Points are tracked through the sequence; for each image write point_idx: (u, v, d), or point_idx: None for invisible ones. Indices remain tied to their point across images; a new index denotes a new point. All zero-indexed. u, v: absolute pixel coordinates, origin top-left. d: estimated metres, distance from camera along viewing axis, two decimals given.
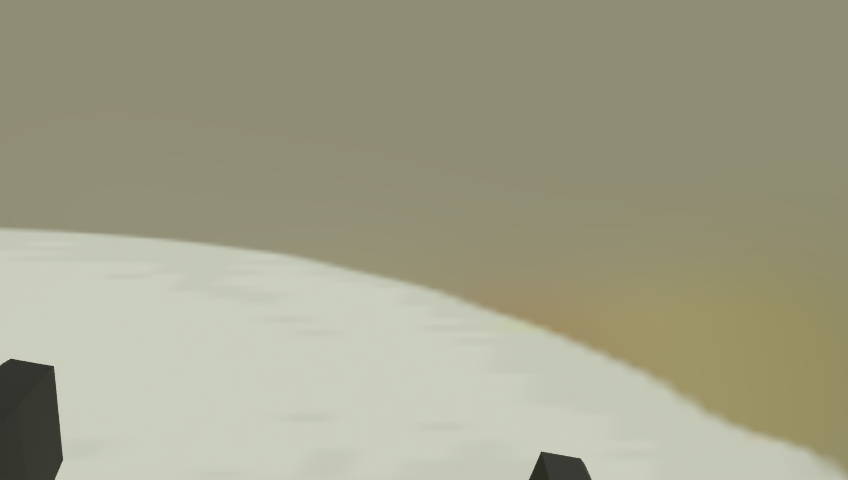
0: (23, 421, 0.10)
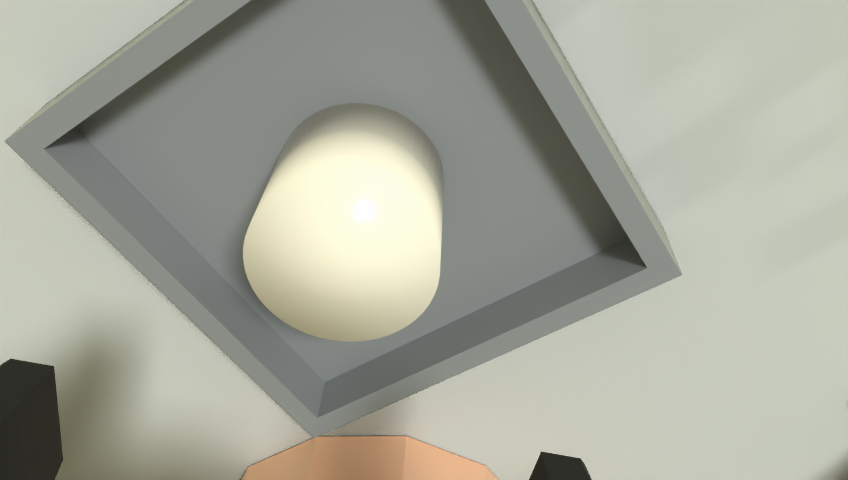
0: (23, 421, 0.10)
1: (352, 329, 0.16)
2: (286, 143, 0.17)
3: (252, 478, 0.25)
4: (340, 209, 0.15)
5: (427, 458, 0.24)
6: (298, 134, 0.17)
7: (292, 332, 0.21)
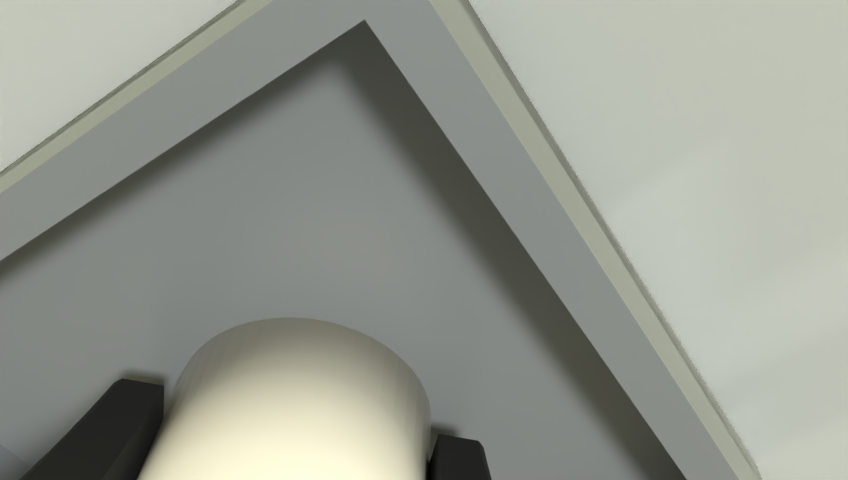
0: (141, 441, 0.10)
1: None
2: (182, 378, 0.11)
3: None
4: None
5: None
6: (196, 374, 0.11)
7: None
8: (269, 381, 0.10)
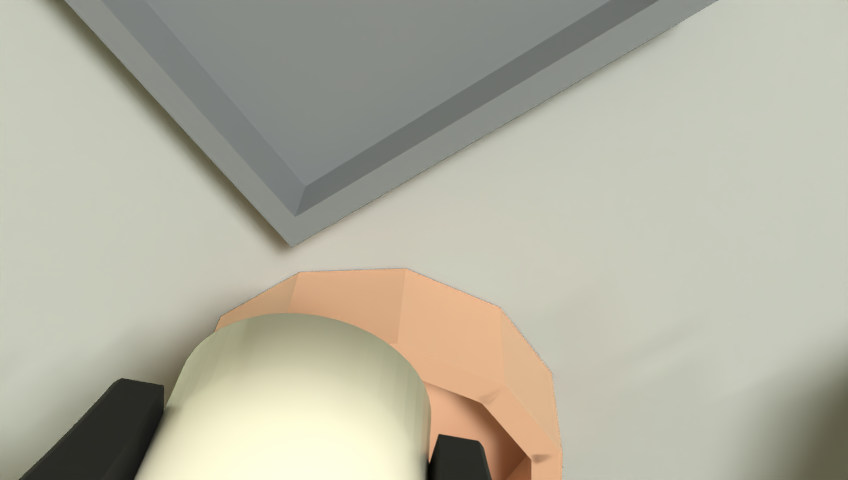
0: (141, 441, 0.10)
1: None
2: (181, 375, 0.11)
3: (224, 325, 0.21)
4: None
5: (431, 293, 0.20)
6: (195, 371, 0.11)
7: (263, 115, 0.17)
8: (267, 376, 0.10)
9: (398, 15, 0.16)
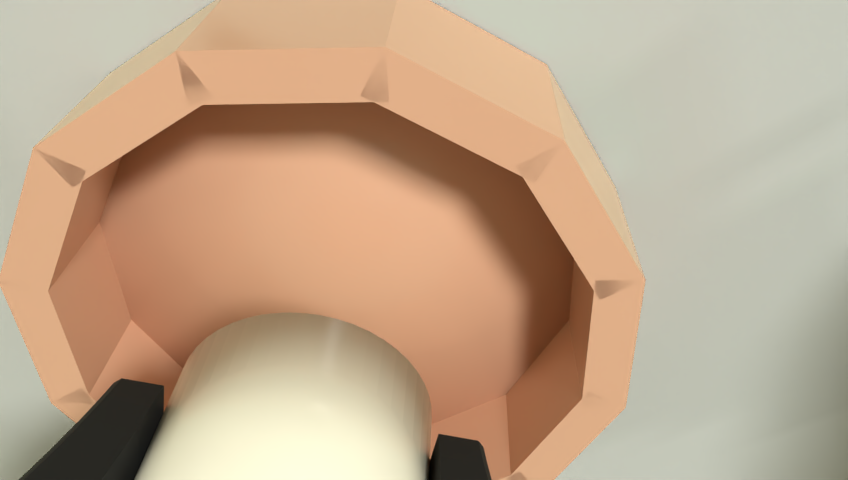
0: (141, 441, 0.10)
1: None
2: (180, 376, 0.11)
3: (111, 75, 0.13)
4: None
5: (441, 20, 0.13)
6: (194, 371, 0.11)
7: None
8: (265, 375, 0.10)
9: None
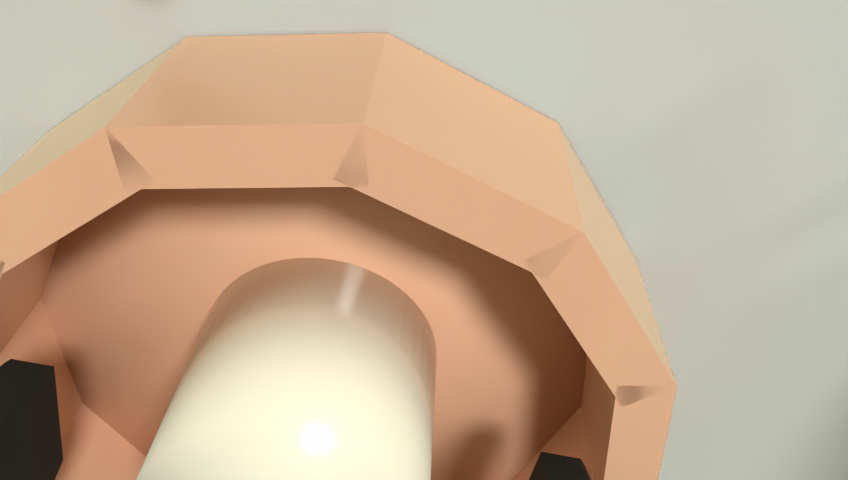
0: (24, 421, 0.10)
1: None
2: (209, 315, 0.12)
3: (47, 137, 0.11)
4: (269, 467, 0.09)
5: (434, 75, 0.11)
6: (222, 309, 0.12)
7: None
8: (287, 309, 0.11)
9: None
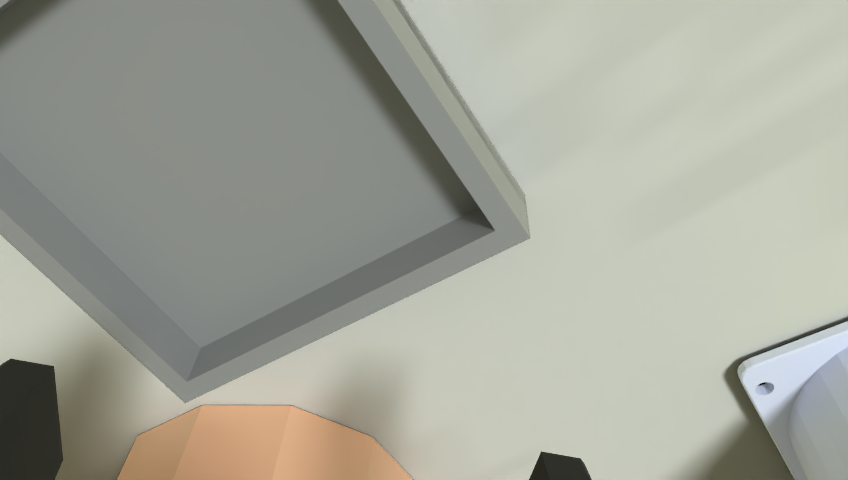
0: (23, 421, 0.10)
1: None
2: None
3: (138, 446, 0.25)
4: None
5: (310, 428, 0.24)
6: None
7: (163, 296, 0.21)
8: None
9: (268, 232, 0.20)
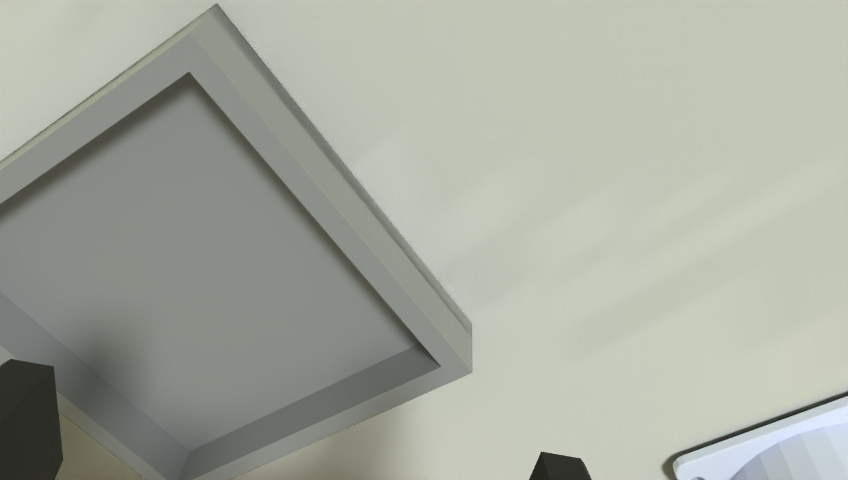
0: (23, 421, 0.10)
1: None
2: None
3: None
4: None
5: None
6: None
7: (154, 410, 0.24)
8: None
9: (245, 359, 0.22)
